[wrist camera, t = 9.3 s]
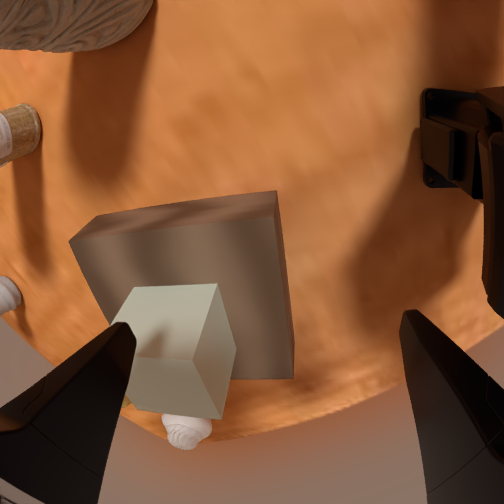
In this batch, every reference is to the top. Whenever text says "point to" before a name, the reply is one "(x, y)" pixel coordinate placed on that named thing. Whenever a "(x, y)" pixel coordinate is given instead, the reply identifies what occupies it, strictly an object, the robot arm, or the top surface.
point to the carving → (68, 23)
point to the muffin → (186, 430)
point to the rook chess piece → (8, 295)
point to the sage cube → (179, 350)
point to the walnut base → (202, 268)
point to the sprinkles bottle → (18, 132)
